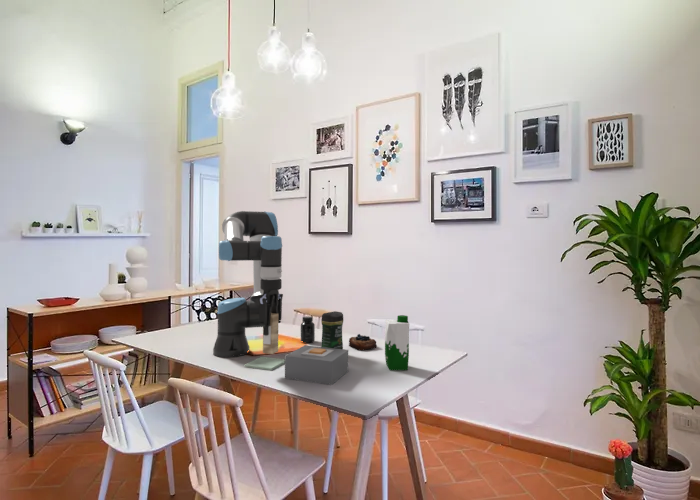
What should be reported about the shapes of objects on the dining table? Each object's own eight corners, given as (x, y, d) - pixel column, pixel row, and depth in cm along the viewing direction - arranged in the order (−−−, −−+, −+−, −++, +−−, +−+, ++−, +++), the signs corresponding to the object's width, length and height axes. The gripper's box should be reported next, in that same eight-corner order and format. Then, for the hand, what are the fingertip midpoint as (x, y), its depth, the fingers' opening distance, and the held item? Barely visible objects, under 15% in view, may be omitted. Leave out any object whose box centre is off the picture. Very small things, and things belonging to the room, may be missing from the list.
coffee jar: (331, 359, 168) (332, 314, 168) (317, 355, 173) (318, 312, 173) (346, 354, 176) (346, 311, 175) (332, 351, 181) (332, 309, 180)
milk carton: (410, 370, 154) (411, 318, 153) (387, 371, 153) (387, 318, 152) (405, 364, 162) (406, 314, 162) (383, 364, 161) (383, 314, 161)
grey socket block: (284, 378, 144) (284, 354, 144) (305, 365, 159) (305, 344, 159) (331, 384, 138) (331, 360, 137) (348, 371, 153) (348, 348, 153)
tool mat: (244, 366, 157) (244, 364, 157) (261, 358, 168) (261, 356, 168) (271, 370, 153) (271, 368, 153) (287, 361, 164) (287, 359, 164)
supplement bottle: (316, 340, 199) (317, 316, 199) (311, 344, 193) (311, 318, 193) (304, 339, 202) (304, 315, 201) (298, 342, 195) (298, 317, 195)
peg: (262, 352, 147) (263, 314, 147) (268, 350, 151) (269, 312, 150) (272, 354, 146) (272, 315, 145) (278, 351, 150) (278, 313, 149)
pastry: (365, 343, 196) (365, 331, 196) (380, 348, 186) (380, 336, 186) (345, 346, 190) (345, 333, 190) (360, 352, 180) (360, 339, 180)
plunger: (309, 364, 147) (309, 350, 147) (314, 361, 151) (314, 347, 151) (320, 366, 145) (320, 352, 145) (325, 362, 150) (325, 349, 149)
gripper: (267, 281, 138) (267, 349, 139) (291, 276, 154) (290, 337, 155) (248, 280, 141) (248, 347, 142) (274, 275, 157) (273, 335, 158)
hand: (270, 342), depth 148 cm, fingers closed on peg, 4 cm apart
